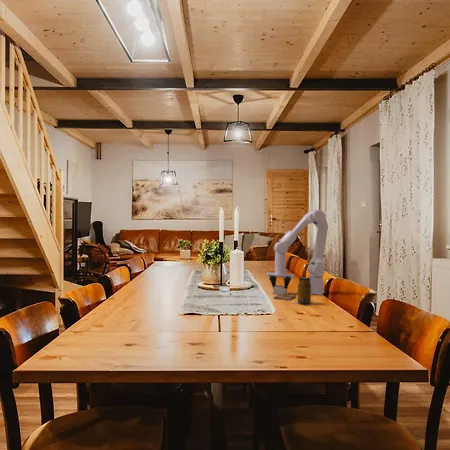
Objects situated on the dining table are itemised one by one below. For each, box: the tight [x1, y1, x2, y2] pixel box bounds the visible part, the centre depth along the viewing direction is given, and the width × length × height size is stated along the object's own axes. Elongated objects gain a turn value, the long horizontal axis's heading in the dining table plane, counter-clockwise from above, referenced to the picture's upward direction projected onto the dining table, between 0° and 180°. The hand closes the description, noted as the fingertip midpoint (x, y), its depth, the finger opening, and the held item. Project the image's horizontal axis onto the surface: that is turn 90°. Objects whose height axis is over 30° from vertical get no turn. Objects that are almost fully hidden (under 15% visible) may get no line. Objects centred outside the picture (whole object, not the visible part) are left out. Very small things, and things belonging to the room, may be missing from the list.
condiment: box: [293, 276, 317, 306], centre depth 210 cm, size 7×8×12 cm
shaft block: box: [273, 288, 297, 301], centre depth 224 cm, size 10×8×4 cm
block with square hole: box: [272, 284, 284, 296], centre depth 236 cm, size 5×5×4 cm
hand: (279, 291), depth 236 cm, fingers closed on block with square hole, 5 cm apart
